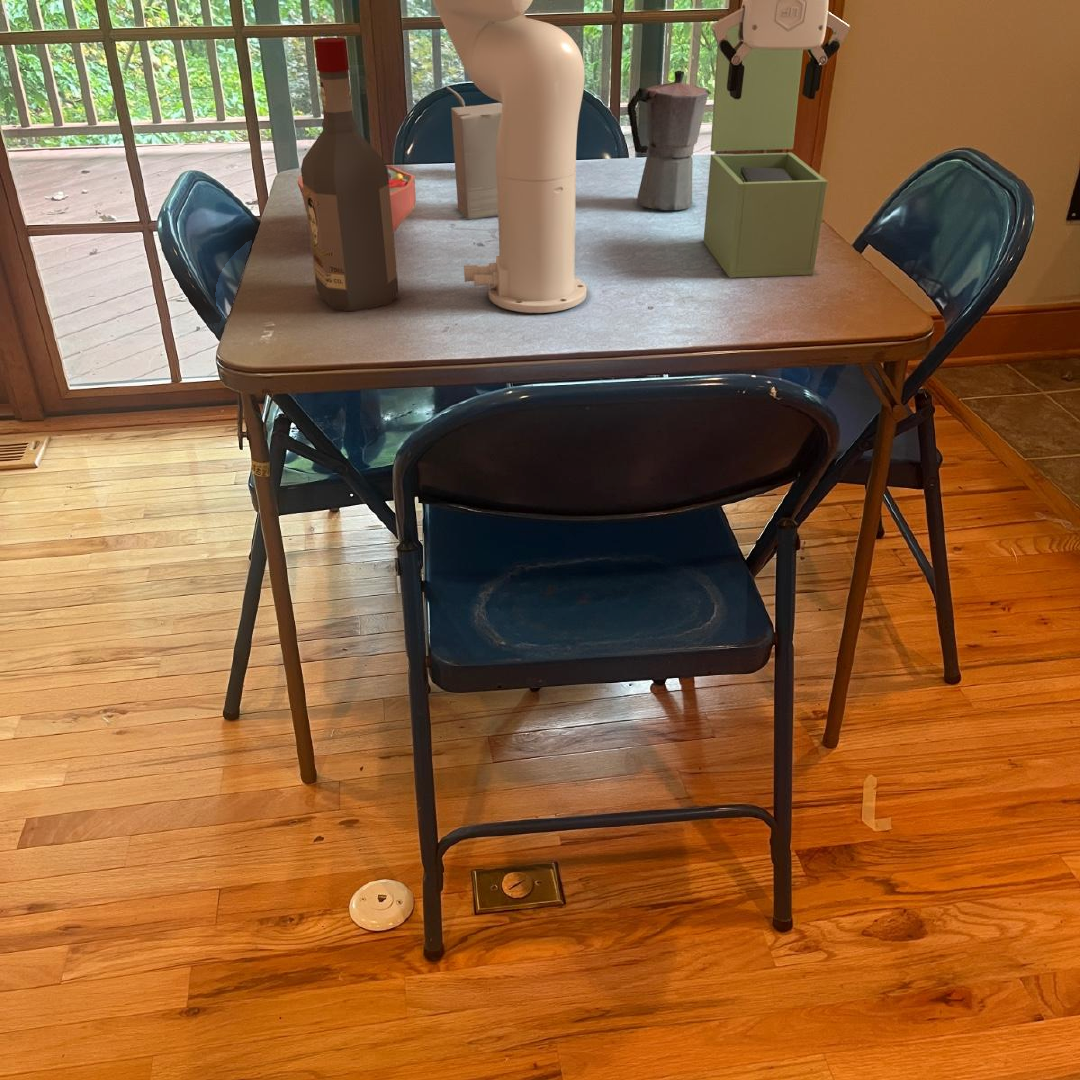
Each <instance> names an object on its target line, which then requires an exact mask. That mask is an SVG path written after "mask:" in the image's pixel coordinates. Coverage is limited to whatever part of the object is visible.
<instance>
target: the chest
mask: <svg viewBox="0 0 1080 1080" xmlns="http://www.w3.org/2000/svg"><path fill="white" fill-rule="evenodd" d="M742 167H750V168H777V169H785V171H786V172H787V174H788V175H789V176H790V178H791V179H792V180H793V181H766V182H744V183H743V182H742V181H741V179H740V176H741V168H742ZM827 187H828V180H827V179H826V178H824V177H823V176H821V175H820V173H818V172H817V171H815V170H814V169H813V168H812V167H811V166H810V165H808V164H806V162H804V160H802V159H801V158H799V157H798V156H797V155H795V153H793V152H791V151H790V152H789V151H788V152H757V153H753V152H752V153H721V154H711V155H710V160H709V173H708V182H707V195H706V207H705V208H706V209H705V217H704V231H703V243H704V245H705V246H706V247H707V249H708V250H709V252H710V253H711V255H712V256H713V258H715V260H716V261H717V263H718V264H719V265H720V267H721V268H722V270H723V271H724V272H725V274H726V275H727V276H728V278H730V279H734V278H735V279H736V278H738V279H739V278H758V277H759V278H762V277H789V276H813V275H814V273H815V267H816V261H817V256H818V255H817V254H818V249H819V247H818V246H819V240H820V234H821V227H822V221H823V215H824V208H825V202H826V201H825V200H826V194H827V189H828V188H827Z"/></svg>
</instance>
